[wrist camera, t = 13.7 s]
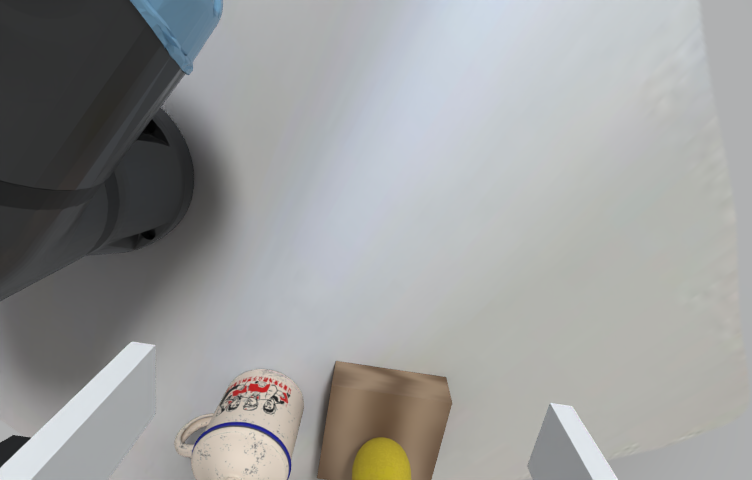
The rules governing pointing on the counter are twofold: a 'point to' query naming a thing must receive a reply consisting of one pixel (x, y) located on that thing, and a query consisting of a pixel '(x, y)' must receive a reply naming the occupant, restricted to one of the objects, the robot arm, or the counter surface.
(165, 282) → the counter surface
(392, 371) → the walnut plinth
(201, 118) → the counter surface
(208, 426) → the teacup with lid
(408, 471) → the lemon
